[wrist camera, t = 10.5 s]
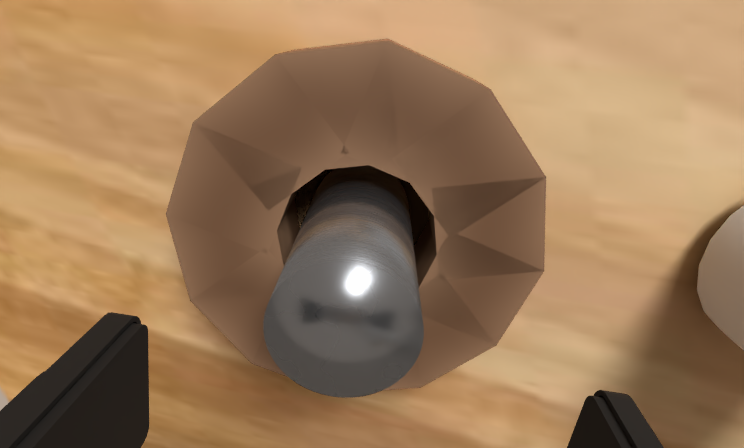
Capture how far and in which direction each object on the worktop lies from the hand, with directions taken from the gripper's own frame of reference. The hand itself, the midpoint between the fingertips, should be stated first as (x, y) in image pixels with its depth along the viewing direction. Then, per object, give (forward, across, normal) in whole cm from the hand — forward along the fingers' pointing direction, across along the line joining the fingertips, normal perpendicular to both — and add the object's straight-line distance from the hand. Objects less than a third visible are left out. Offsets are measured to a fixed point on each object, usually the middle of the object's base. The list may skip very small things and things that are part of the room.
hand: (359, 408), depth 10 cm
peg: (+11, +1, 0) cm, 11 cm away
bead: (+11, +1, -1) cm, 11 cm away
